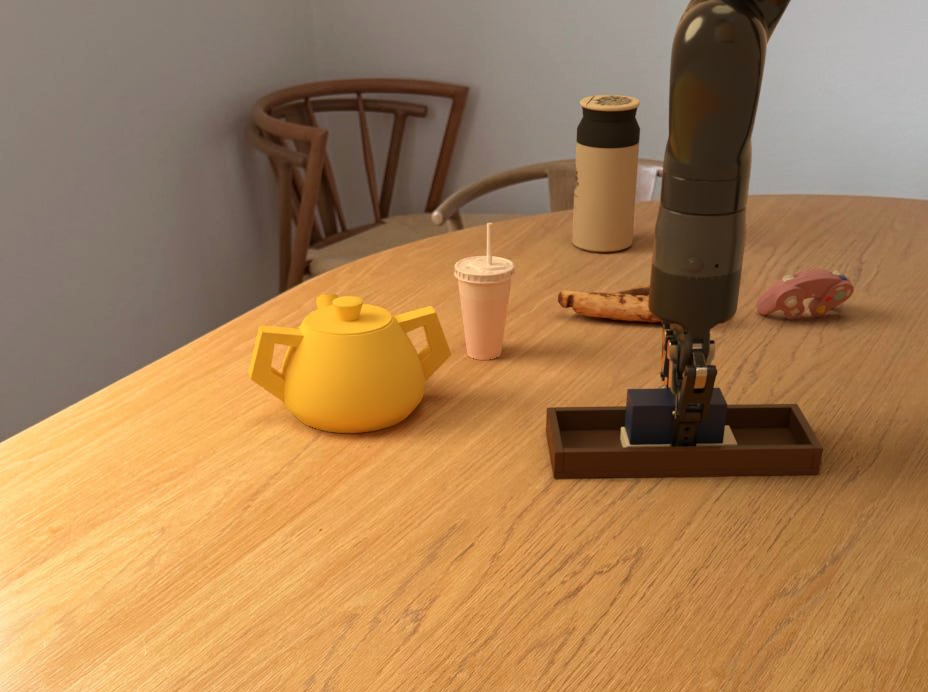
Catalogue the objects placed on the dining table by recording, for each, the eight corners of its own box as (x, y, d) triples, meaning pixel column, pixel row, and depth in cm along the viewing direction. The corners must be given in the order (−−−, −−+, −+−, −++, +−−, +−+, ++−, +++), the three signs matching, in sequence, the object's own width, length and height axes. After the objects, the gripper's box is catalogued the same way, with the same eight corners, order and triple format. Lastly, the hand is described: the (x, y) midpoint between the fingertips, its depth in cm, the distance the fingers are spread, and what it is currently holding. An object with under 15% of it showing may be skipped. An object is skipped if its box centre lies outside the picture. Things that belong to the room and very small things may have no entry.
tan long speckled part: (715, 309, 148) (562, 298, 150) (720, 269, 145) (565, 258, 148) (714, 335, 140) (554, 322, 143) (720, 293, 138) (556, 281, 140)
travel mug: (639, 239, 169) (649, 96, 159) (621, 256, 163) (631, 109, 153) (583, 233, 172) (590, 92, 162) (563, 249, 166) (569, 104, 156)
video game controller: (764, 335, 144) (783, 290, 138) (751, 306, 146) (770, 260, 140) (842, 327, 146) (865, 282, 140) (828, 298, 148) (850, 253, 142)
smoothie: (496, 368, 133) (497, 235, 125) (443, 358, 135) (441, 226, 127) (523, 348, 137) (527, 218, 129) (472, 338, 140) (472, 210, 132)
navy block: (727, 437, 117) (733, 386, 114) (736, 456, 114) (742, 404, 111) (620, 438, 117) (623, 388, 114) (625, 457, 114) (629, 406, 111)
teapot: (418, 355, 136) (415, 253, 130) (472, 422, 121) (472, 311, 115) (234, 379, 131) (222, 275, 125) (268, 452, 117) (256, 338, 110)
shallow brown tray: (793, 428, 120) (797, 403, 118) (819, 474, 112) (823, 448, 110) (545, 432, 120) (546, 407, 118) (553, 478, 112) (554, 452, 110)
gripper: (760, 286, 100) (734, 480, 109) (725, 233, 111) (704, 412, 121) (665, 287, 100) (647, 481, 109) (641, 234, 111) (627, 413, 121)
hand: (678, 444), depth 115 cm, fingers closed on navy block, 4 cm apart
